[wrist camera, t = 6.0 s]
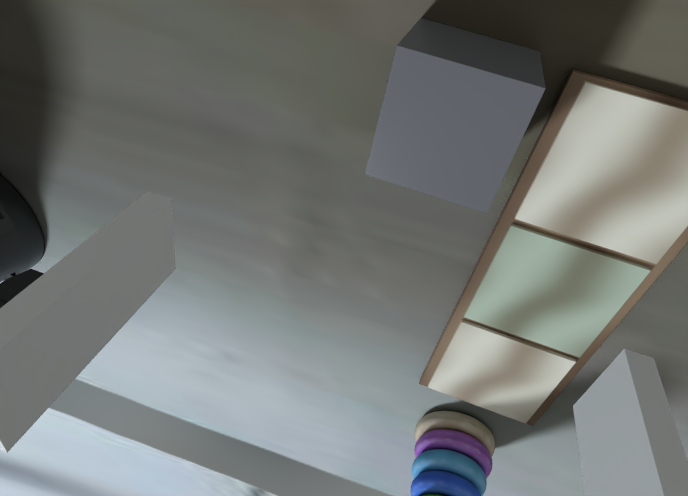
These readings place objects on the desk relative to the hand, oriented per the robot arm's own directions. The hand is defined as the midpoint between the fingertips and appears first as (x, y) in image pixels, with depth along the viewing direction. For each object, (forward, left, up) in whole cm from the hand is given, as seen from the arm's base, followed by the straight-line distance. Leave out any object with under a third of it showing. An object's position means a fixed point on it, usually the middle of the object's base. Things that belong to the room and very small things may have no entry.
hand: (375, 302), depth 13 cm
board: (+11, -12, -20) cm, 26 cm away
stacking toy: (+11, -33, -20) cm, 40 cm away
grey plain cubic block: (0, 0, -20) cm, 20 cm away
